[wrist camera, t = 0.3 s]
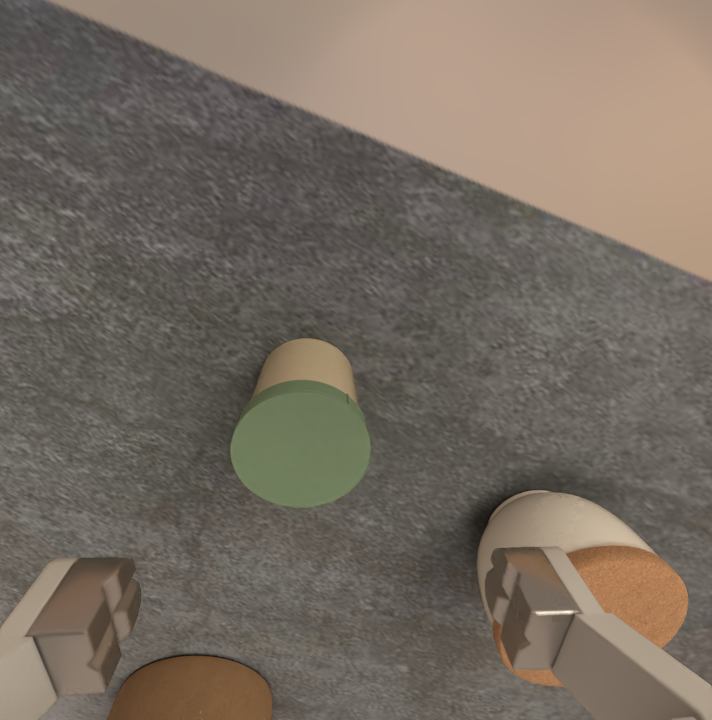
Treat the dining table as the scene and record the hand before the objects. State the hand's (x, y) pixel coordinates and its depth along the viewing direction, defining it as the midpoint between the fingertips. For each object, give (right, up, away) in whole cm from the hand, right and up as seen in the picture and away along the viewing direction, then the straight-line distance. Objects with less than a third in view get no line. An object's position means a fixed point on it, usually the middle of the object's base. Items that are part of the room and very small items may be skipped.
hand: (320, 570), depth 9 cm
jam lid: (-2, 0, +11) cm, 11 cm away
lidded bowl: (+16, -9, +25) cm, 31 cm away
